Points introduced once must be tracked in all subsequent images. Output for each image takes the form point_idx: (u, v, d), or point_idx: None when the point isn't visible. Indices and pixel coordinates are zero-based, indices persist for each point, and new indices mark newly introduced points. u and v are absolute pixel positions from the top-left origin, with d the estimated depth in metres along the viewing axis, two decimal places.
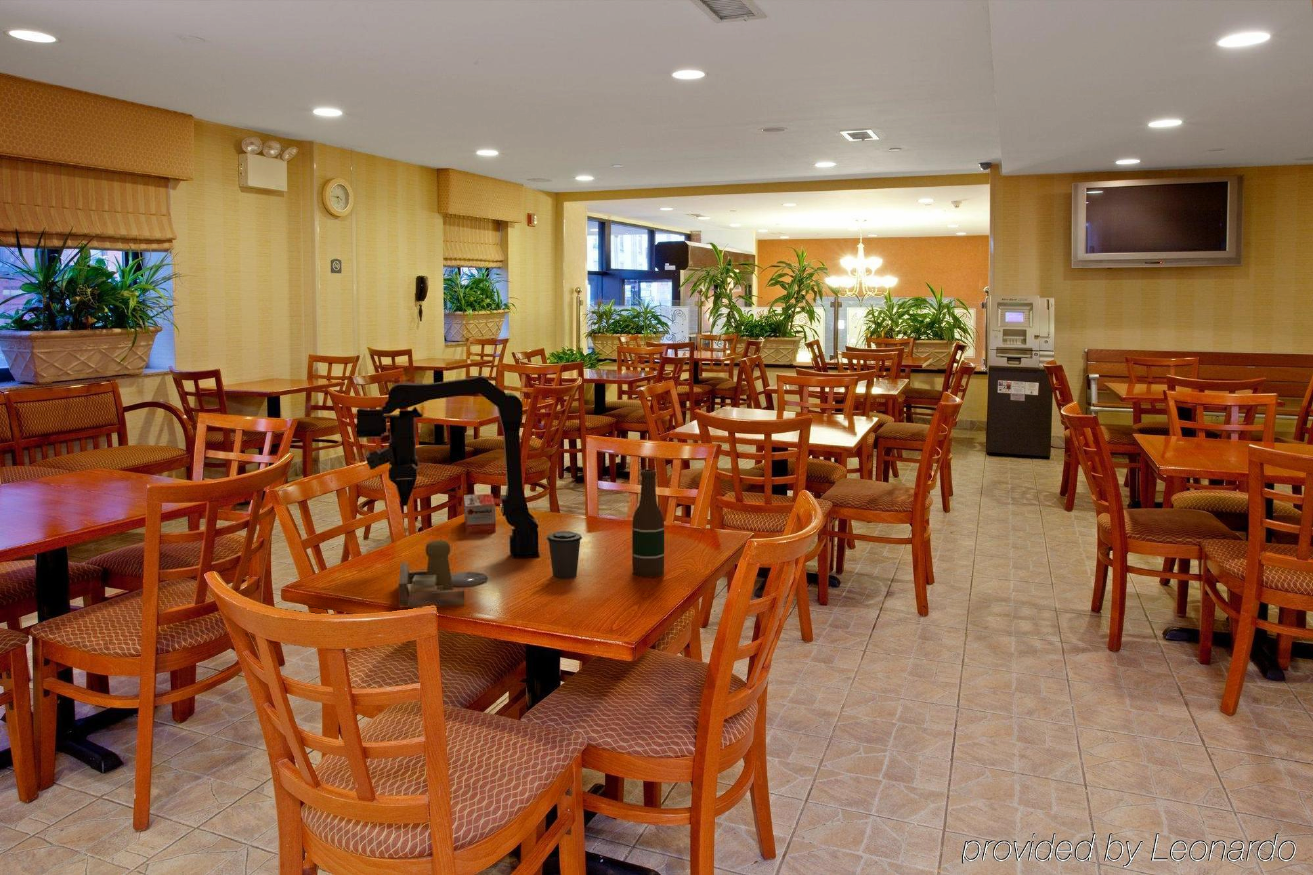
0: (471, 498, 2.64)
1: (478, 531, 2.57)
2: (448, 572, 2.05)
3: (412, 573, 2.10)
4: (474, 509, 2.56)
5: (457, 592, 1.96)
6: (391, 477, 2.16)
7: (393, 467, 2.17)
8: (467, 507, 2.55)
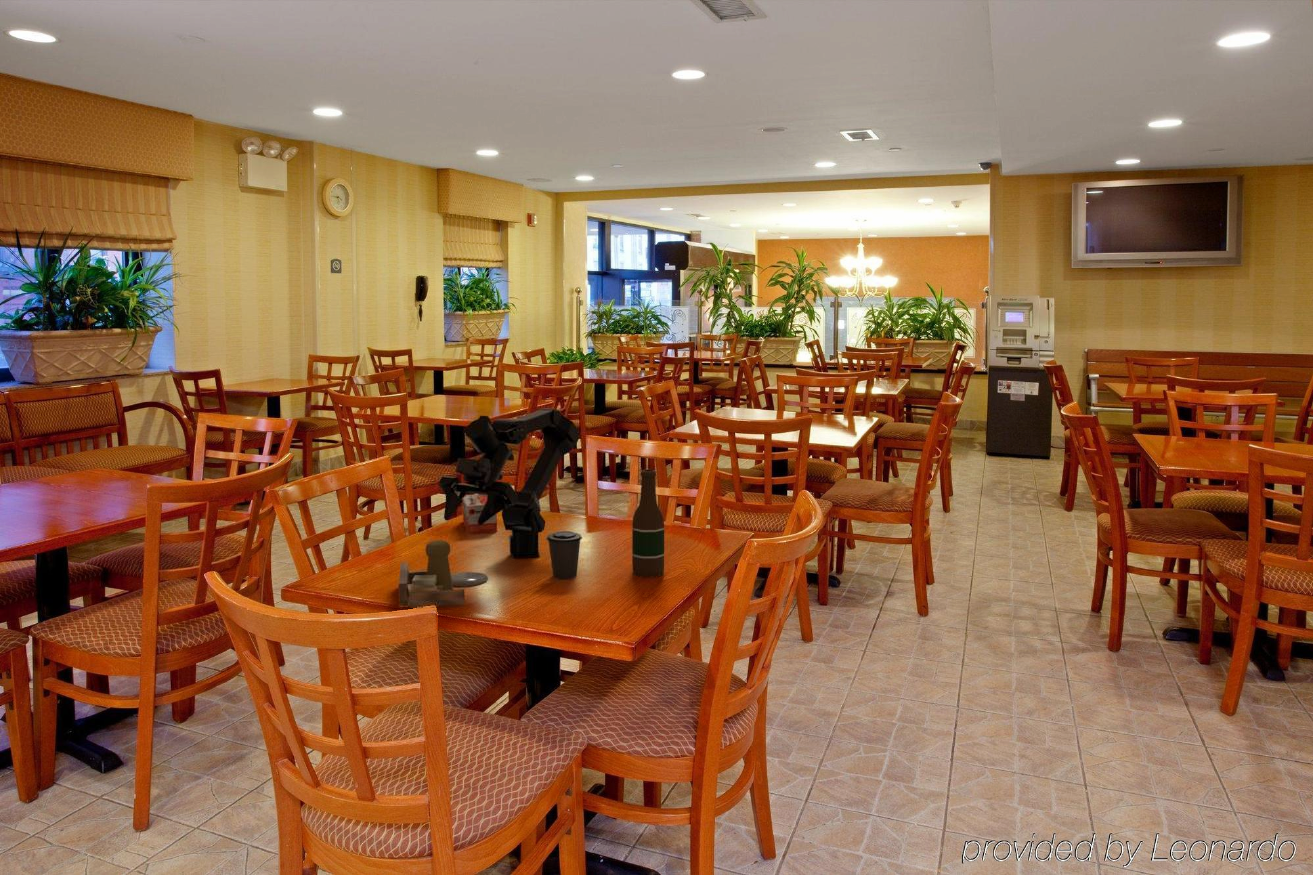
0: (471, 498, 2.64)
1: (480, 530, 2.57)
2: (448, 572, 2.05)
3: (412, 573, 2.10)
4: (476, 508, 2.56)
5: (457, 592, 1.96)
6: (505, 490, 2.10)
7: None
8: (469, 507, 2.55)
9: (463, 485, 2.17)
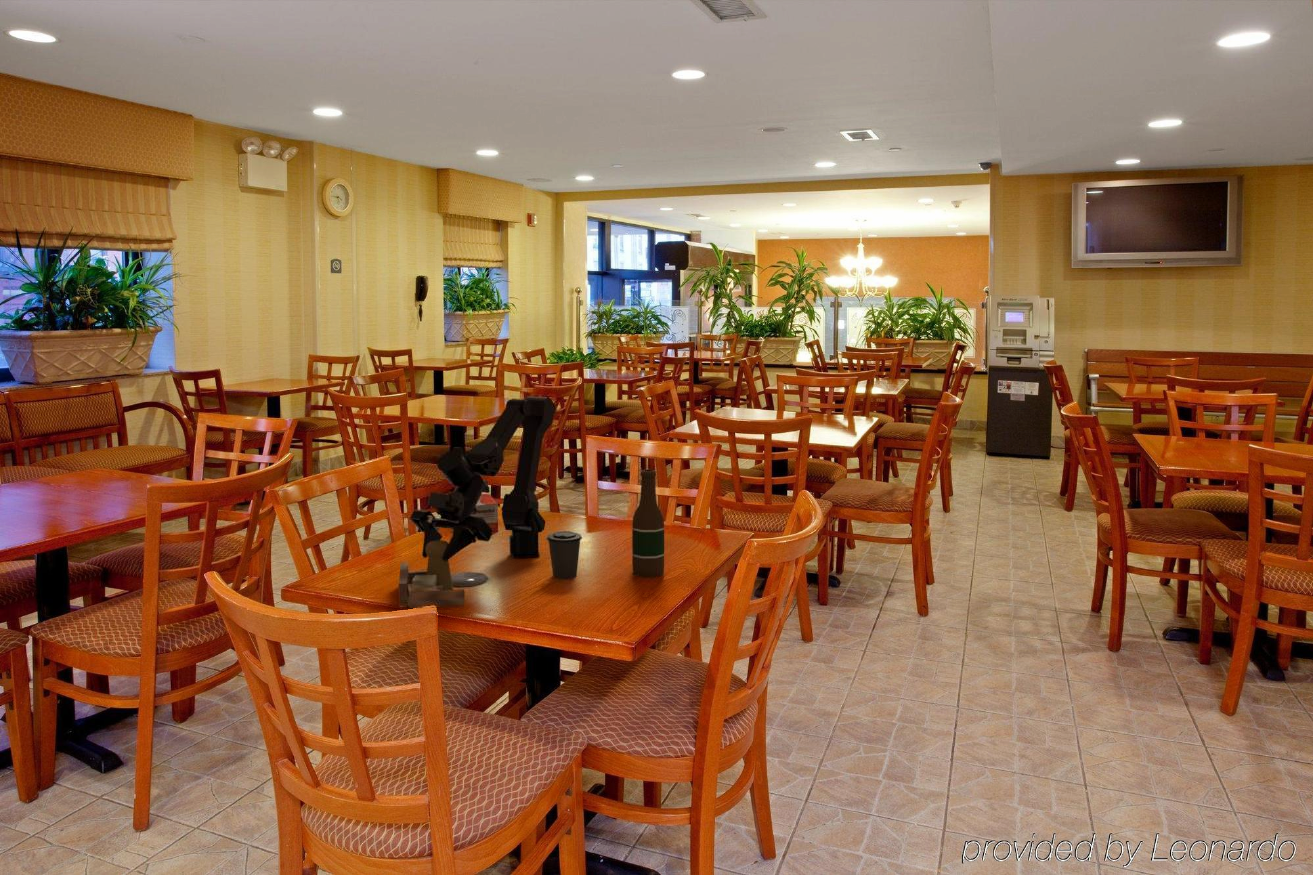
0: None
1: None
2: (448, 572, 2.05)
3: (412, 573, 2.10)
4: (477, 508, 2.56)
5: (457, 592, 1.96)
6: (479, 526, 2.02)
7: (482, 519, 2.04)
8: None
9: (442, 520, 2.08)
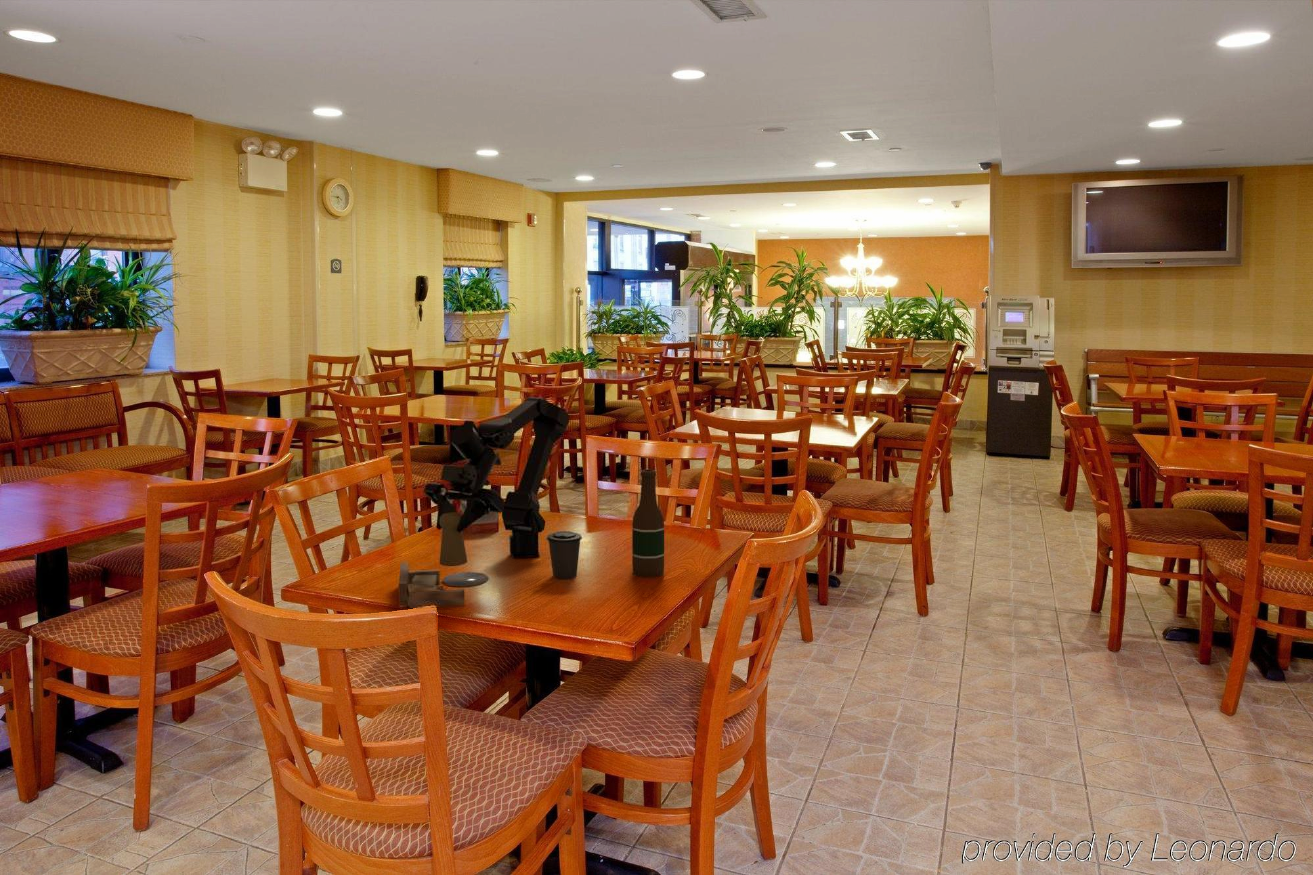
0: None
1: (482, 530, 2.57)
2: (462, 543, 2.09)
3: (412, 573, 2.10)
4: None
5: (457, 592, 1.96)
6: (491, 498, 2.06)
7: (495, 490, 2.07)
8: None
9: (456, 493, 2.12)
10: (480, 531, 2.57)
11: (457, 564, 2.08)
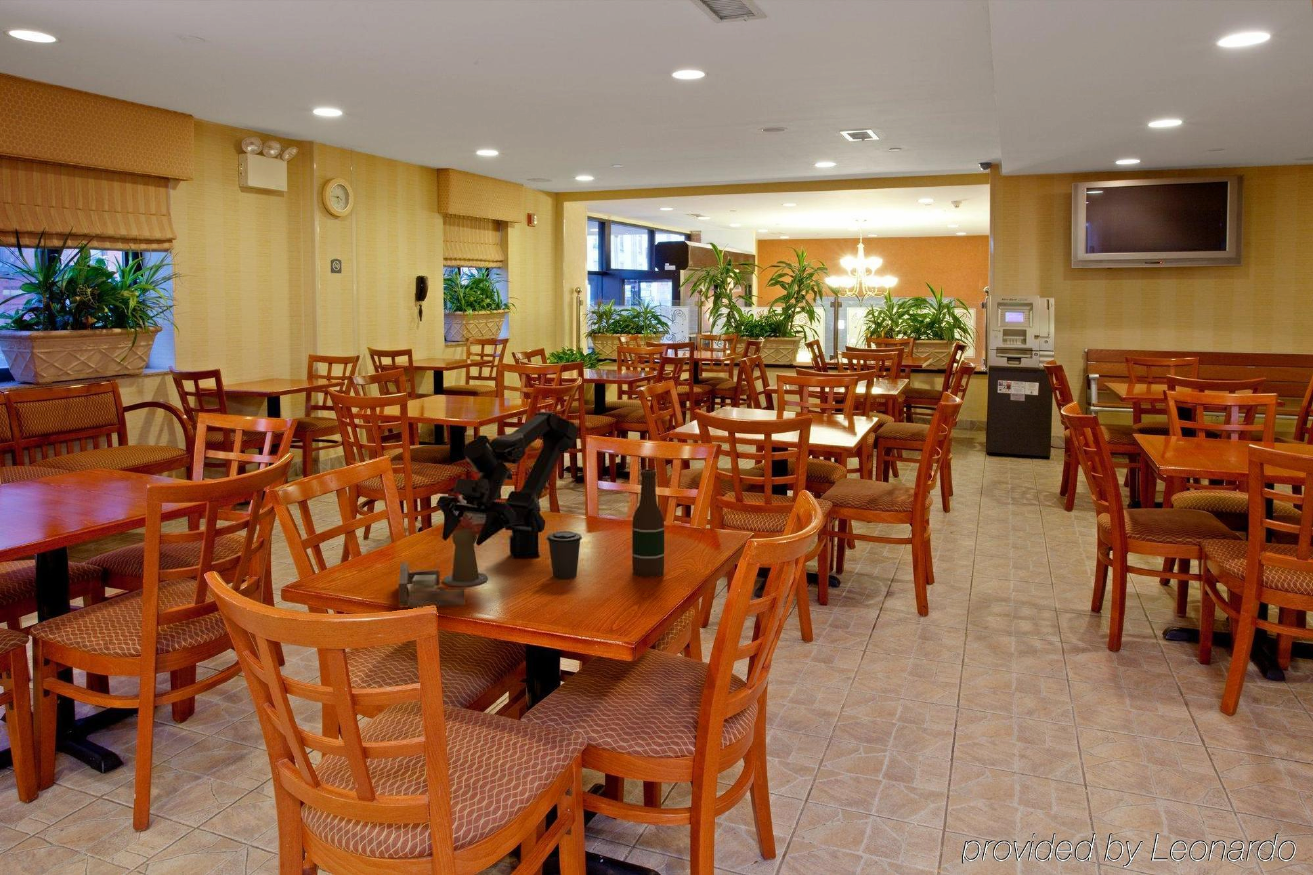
0: None
1: None
2: (474, 560, 2.13)
3: (412, 573, 2.10)
4: None
5: (457, 592, 1.96)
6: (504, 511, 2.10)
7: (507, 504, 2.12)
8: None
9: (461, 505, 2.17)
10: None
11: (469, 580, 2.12)
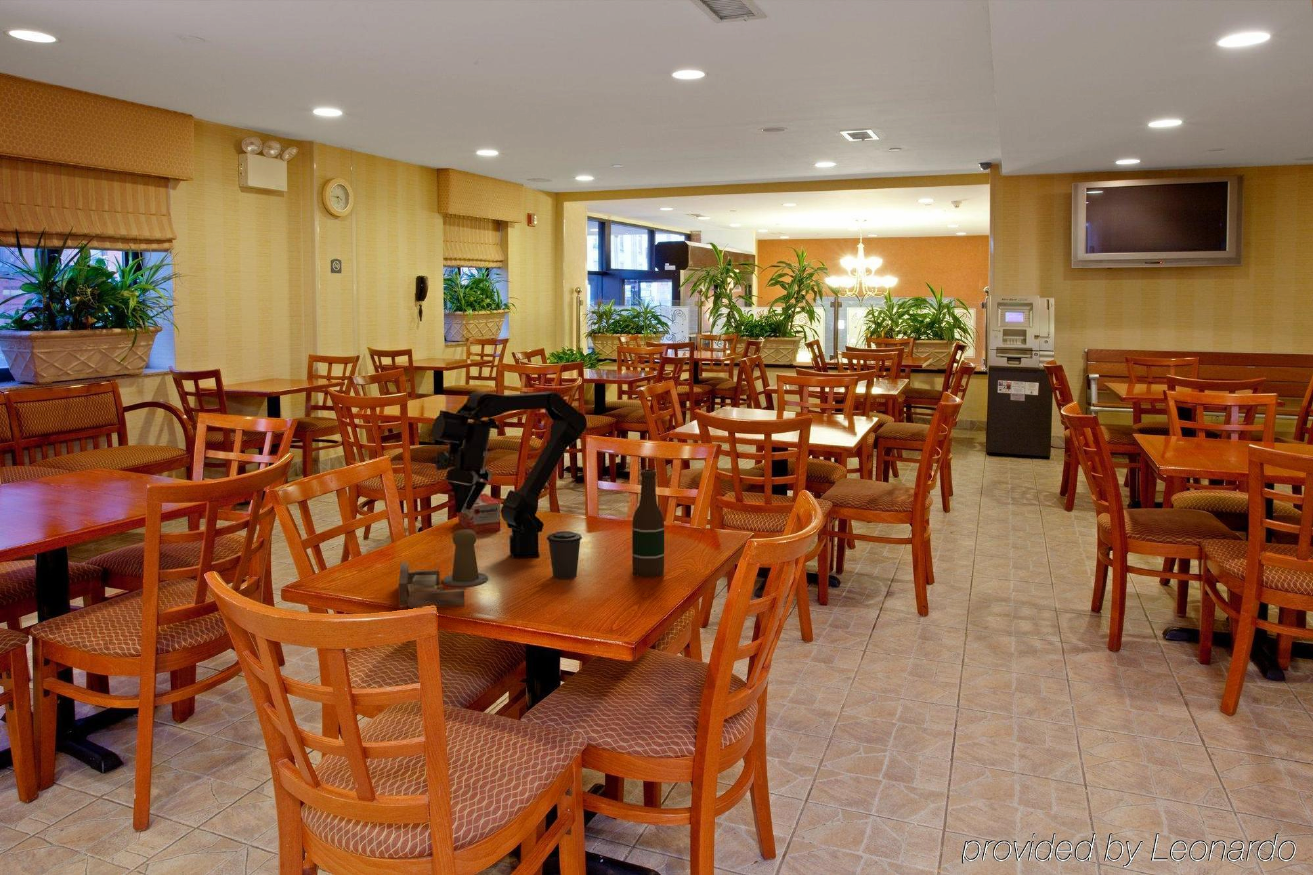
0: None
1: (484, 530, 2.58)
2: (474, 560, 2.13)
3: (412, 573, 2.10)
4: (480, 508, 2.56)
5: (457, 592, 1.96)
6: (448, 478, 2.15)
7: (452, 469, 2.15)
8: (473, 507, 2.55)
9: None
10: (482, 531, 2.57)
11: (469, 580, 2.12)
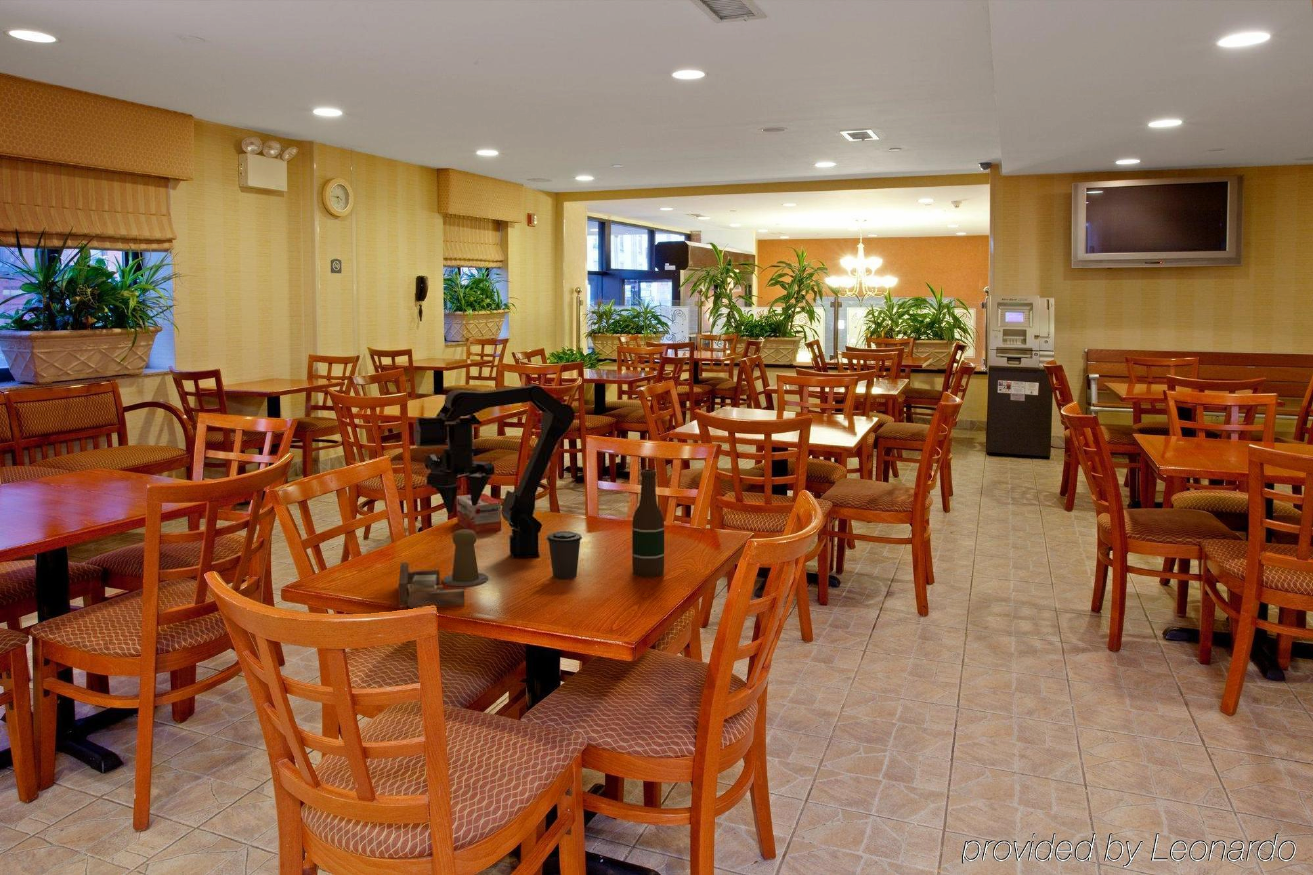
0: (469, 498, 2.64)
1: (485, 530, 2.58)
2: (474, 560, 2.13)
3: (412, 573, 2.10)
4: (481, 508, 2.56)
5: (457, 592, 1.96)
6: (427, 483, 2.18)
7: (429, 473, 2.18)
8: (475, 507, 2.55)
9: None
10: (483, 531, 2.58)
11: (469, 580, 2.12)
